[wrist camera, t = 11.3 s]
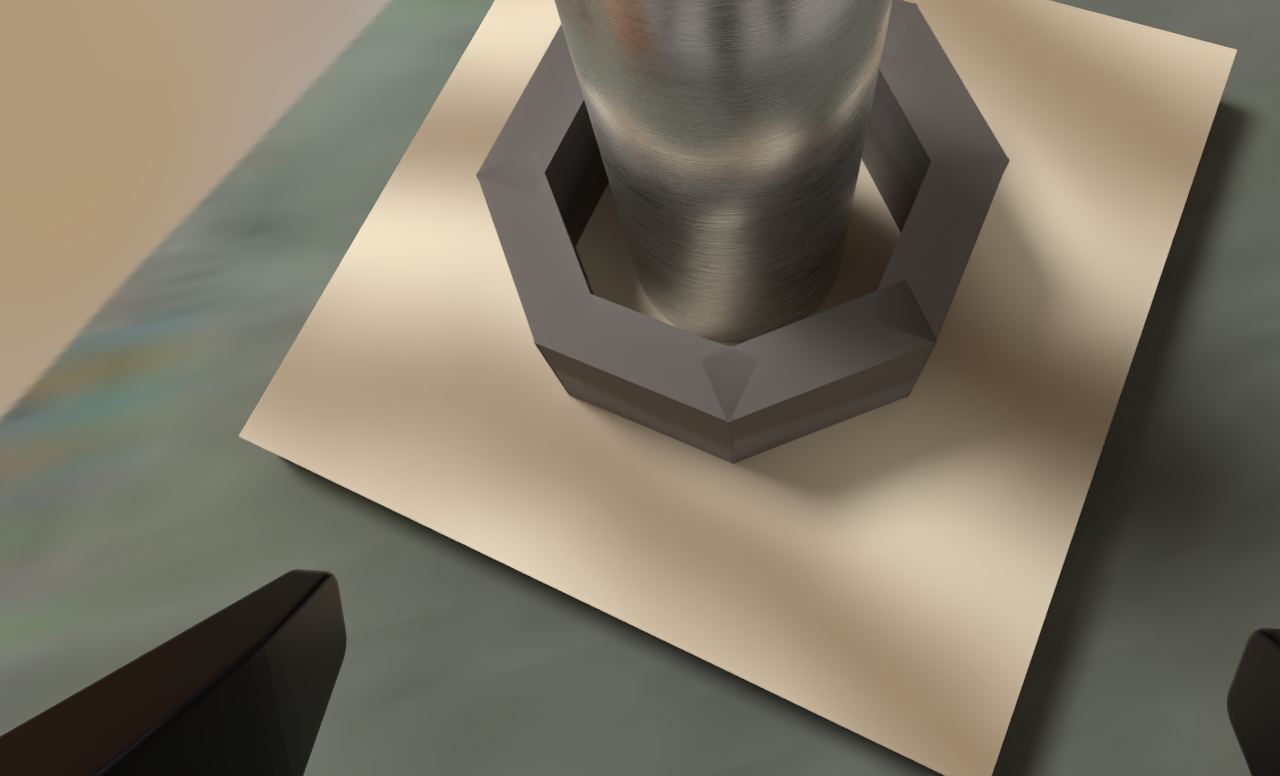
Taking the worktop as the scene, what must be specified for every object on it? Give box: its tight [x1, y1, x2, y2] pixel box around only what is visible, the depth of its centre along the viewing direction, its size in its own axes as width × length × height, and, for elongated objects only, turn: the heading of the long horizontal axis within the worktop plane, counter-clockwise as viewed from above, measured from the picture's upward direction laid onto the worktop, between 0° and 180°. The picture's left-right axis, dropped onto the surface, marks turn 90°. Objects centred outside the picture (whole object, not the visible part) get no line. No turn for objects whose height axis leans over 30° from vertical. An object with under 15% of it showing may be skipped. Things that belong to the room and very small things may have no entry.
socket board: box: [239, 0, 1237, 776], centre depth 18 cm, size 16×16×4 cm
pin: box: [554, 0, 893, 343], centre depth 13 cm, size 4×4×13 cm
